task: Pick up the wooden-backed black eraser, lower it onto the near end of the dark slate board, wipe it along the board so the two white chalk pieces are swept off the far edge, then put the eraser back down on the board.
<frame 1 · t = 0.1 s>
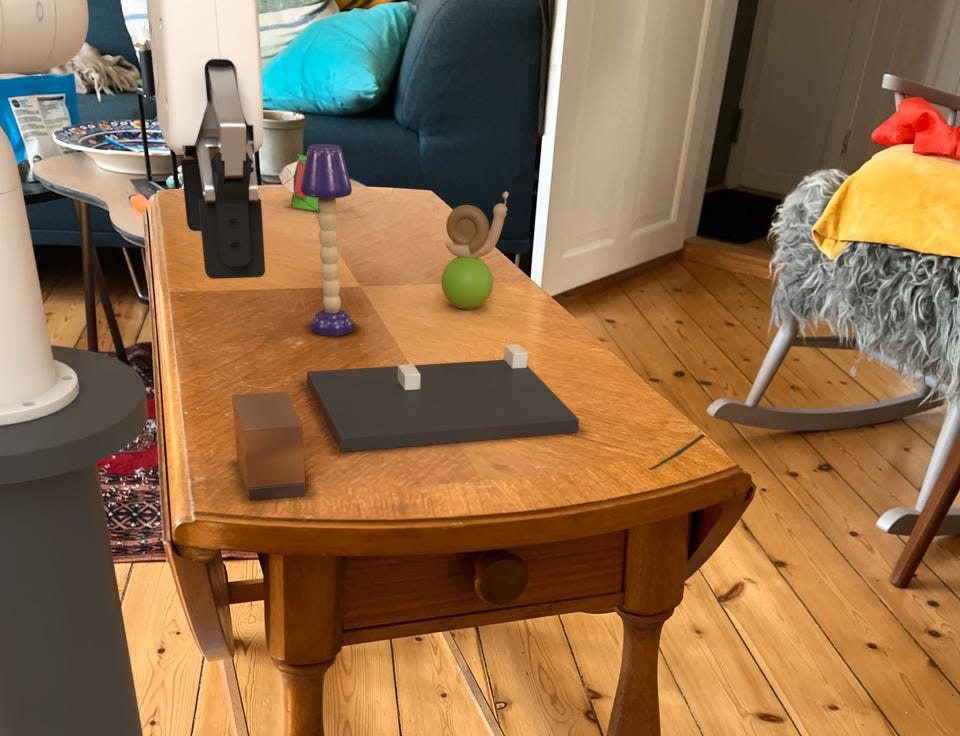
hand: (224, 251, 61), 18 cm above the table, tool pointing down, fingers open, 9 cm apart
toy lamp: (330, 330, 103), on the table
geometric puzzle: (309, 209, 142), on the table
snail figurine: (470, 310, 111), on the table
eraser: (270, 479, 76), on the table
chalk piece A: (408, 384, 89), point 1 cm above the table, touching board
chalk piece B: (515, 363, 95), point 1 cm above the table, touching board
board: (438, 407, 88), on the table
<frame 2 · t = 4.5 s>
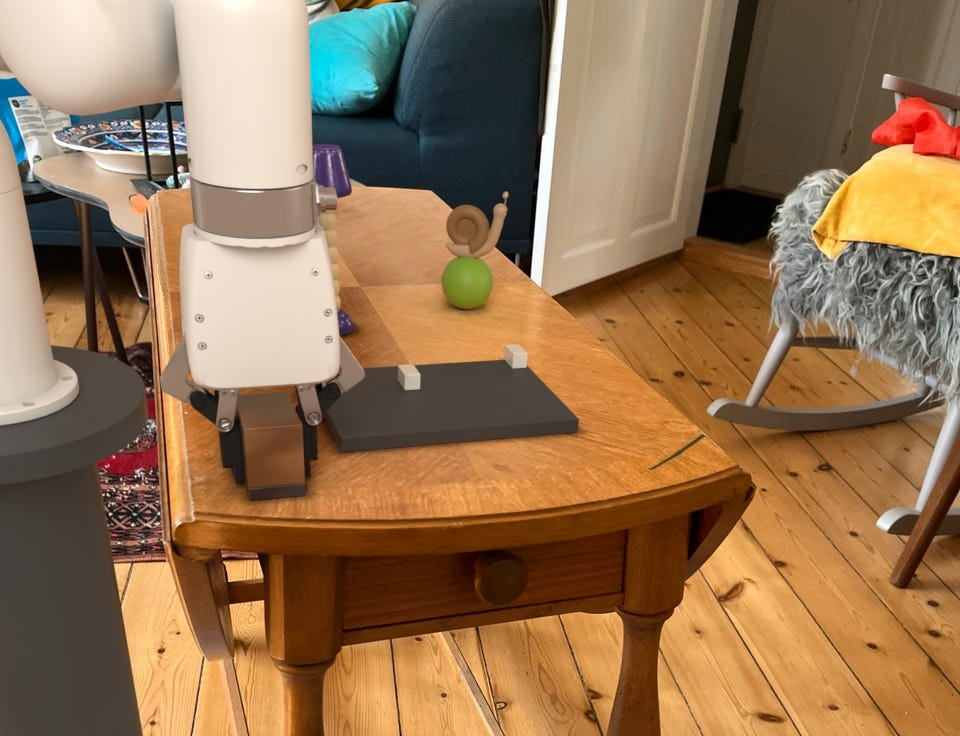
hand: (270, 469, 75), 1 cm above the table, tool pointing down, fingers closed on eraser, 4 cm apart
eraser: (270, 479, 76), on the table, touching gripper
everything else where it was.
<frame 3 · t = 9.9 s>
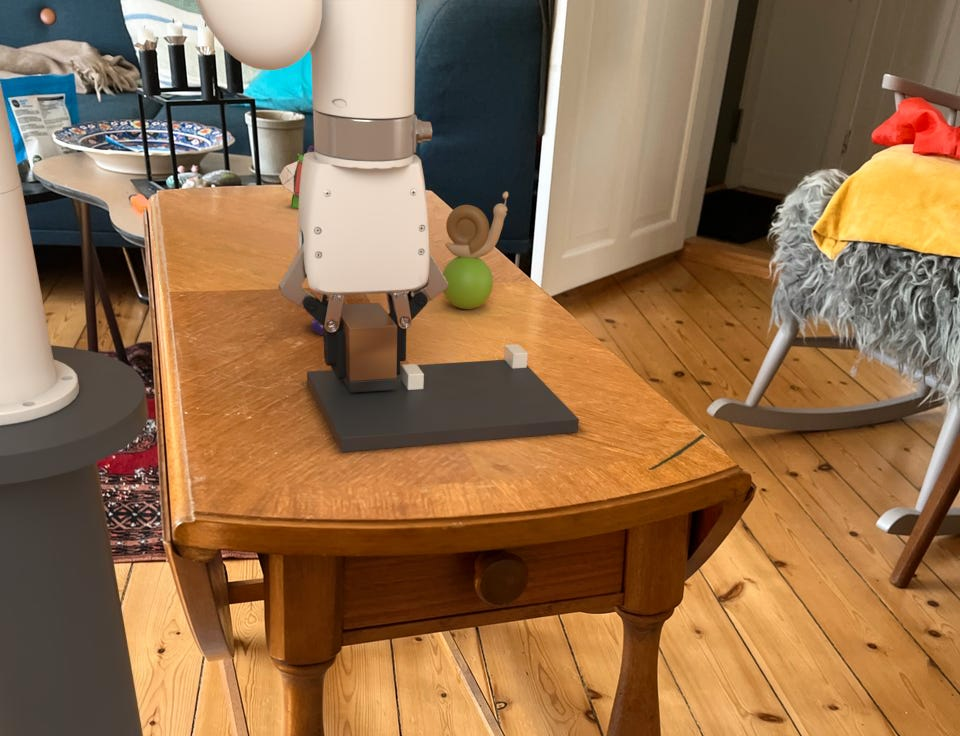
hand: (365, 369, 88), 2 cm above the table, tool pointing down, fingers closed on eraser, 4 cm apart
eraser: (365, 378, 89), point 1 cm above the table, touching gripper
chalk piece A: (412, 384, 89), point 1 cm above the table, touching board, gripper
everything else where it was.
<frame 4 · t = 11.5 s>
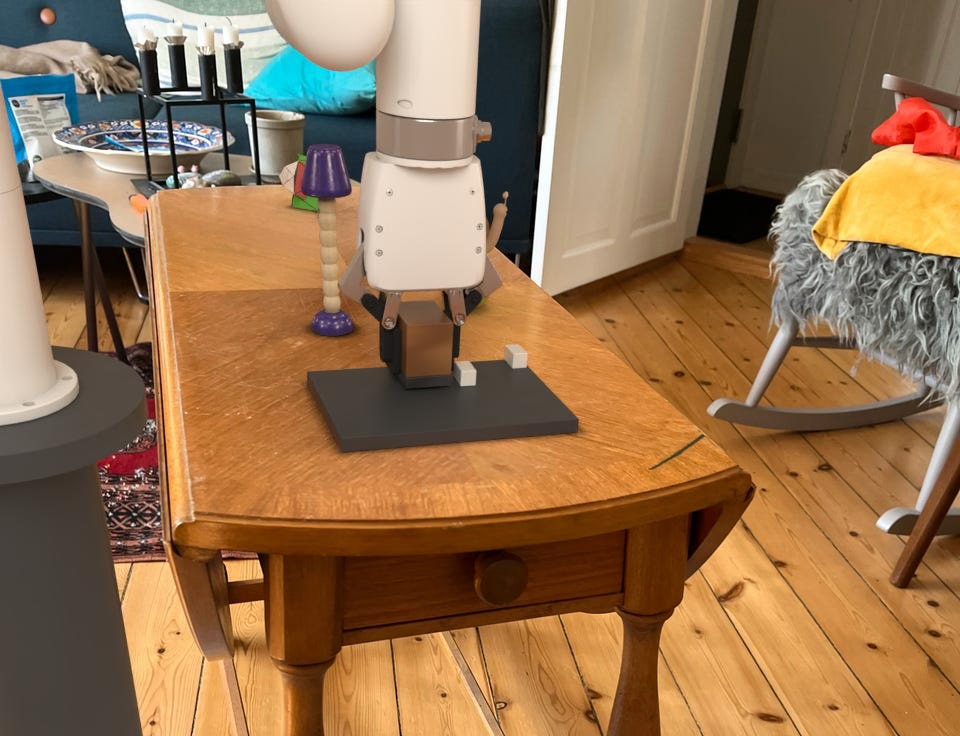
hand: (419, 365, 90), 2 cm above the table, tool pointing down, fingers closed on eraser, 4 cm apart
eraser: (418, 374, 90), point 1 cm above the table, touching gripper
chalk piece A: (464, 381, 90), point 1 cm above the table, touching board, gripper
everything else where it was.
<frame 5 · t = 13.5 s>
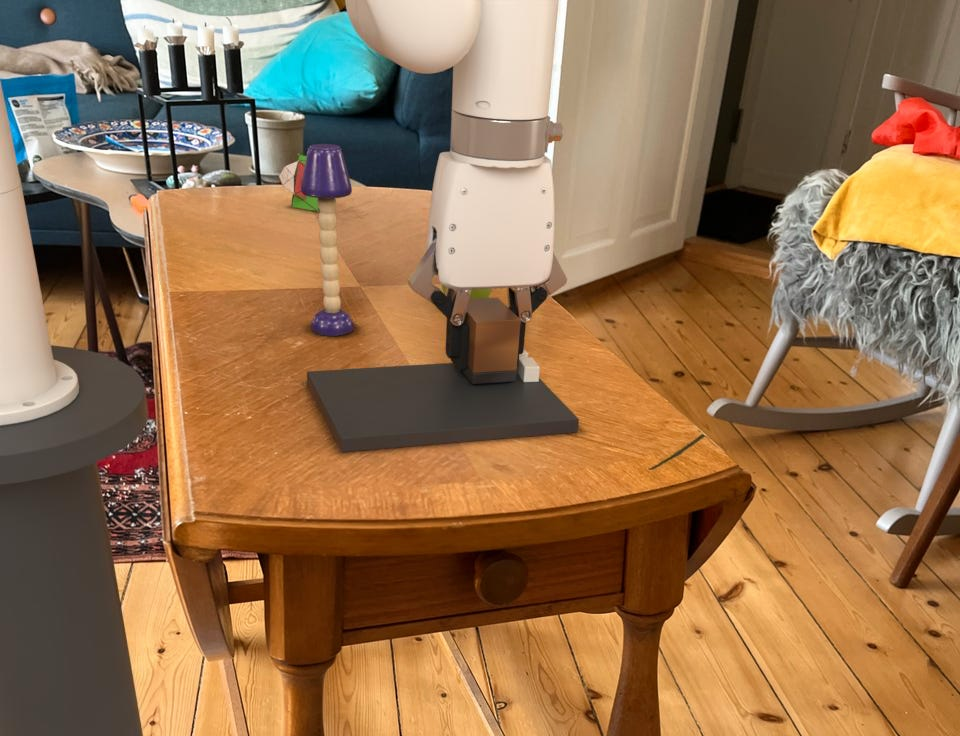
hand: (483, 361, 92), 2 cm above the table, tool pointing down, fingers closed on eraser, 4 cm apart
eraser: (483, 370, 92), point 1 cm above the table, touching gripper
chalk piece A: (527, 377, 92), point 1 cm above the table, touching board, gripper
chalk piece B: (515, 363, 95), point 1 cm above the table, touching gripper
everything else where it was.
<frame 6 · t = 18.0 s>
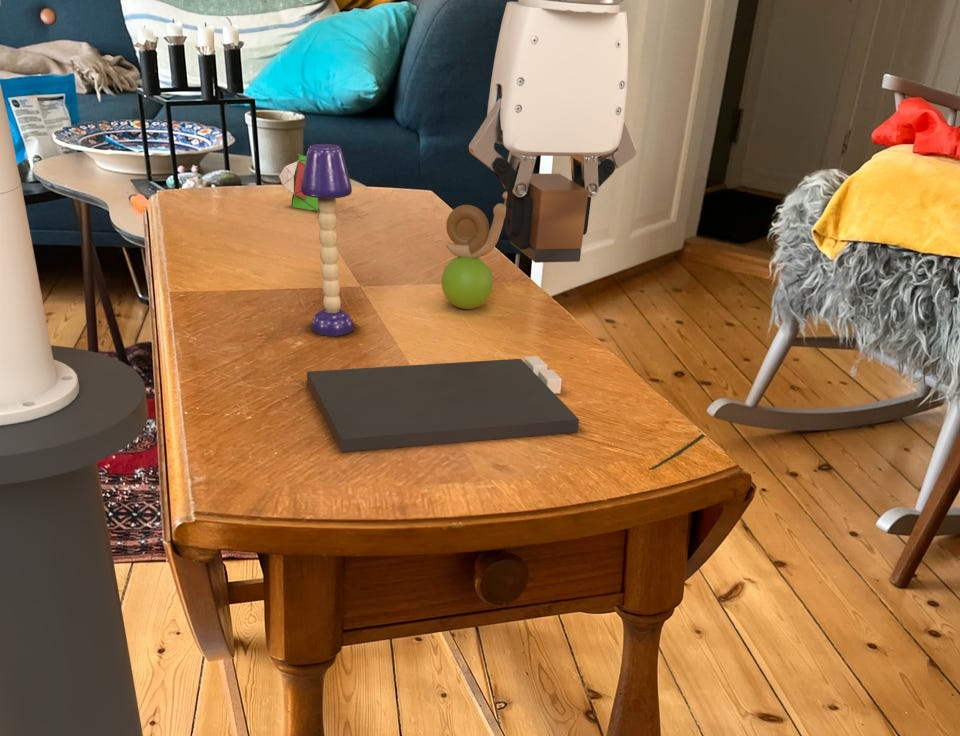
hand: (544, 241, 86), 13 cm above the table, tool pointing down, fingers closed on eraser, 4 cm apart
eraser: (544, 252, 86), point 12 cm above the table, touching gripper
chalk piece A: (542, 382, 93), point 1 cm above the table, tilted 90°
chalk piece B: (528, 368, 95), point 1 cm above the table, tilted 90°
everything else where it was.
when the fingers open (2 cm above the table, at t = 21.7 s): eraser stays where it is, resting on board.
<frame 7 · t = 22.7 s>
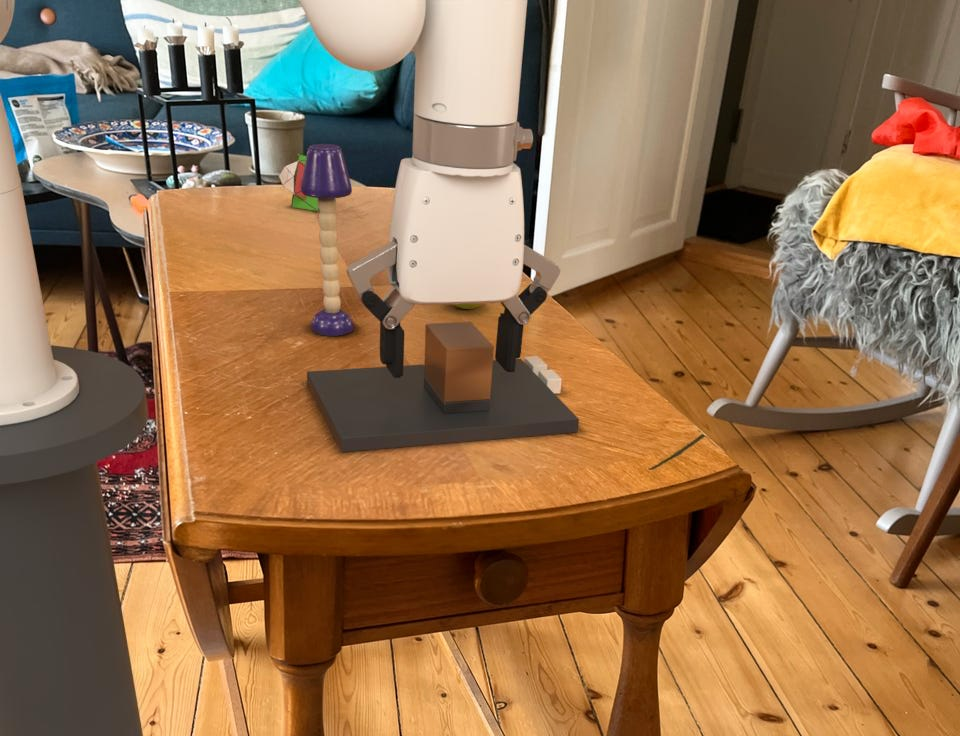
hand: (450, 369, 86), 4 cm above the table, tool pointing down, fingers open, 9 cm apart
eraser: (455, 398, 87), point 1 cm above the table, touching board
everything else where it was.
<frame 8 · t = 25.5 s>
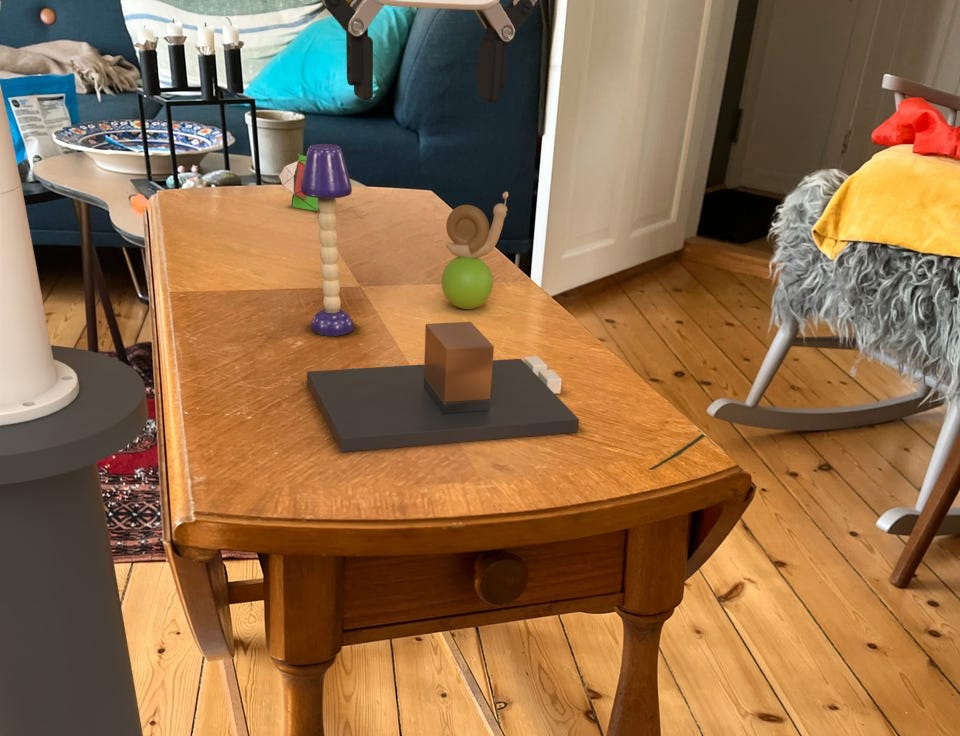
hand: (426, 98, 77), 23 cm above the table, tool pointing down, fingers open, 9 cm apart
nothing on the table moved.
at the end: chalk piece A point 0.7 cm above the table; chalk piece B point 0.7 cm above the table; eraser inside the target area on the board (1.6 cm from its centre), point 1.2 cm above the board's base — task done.
